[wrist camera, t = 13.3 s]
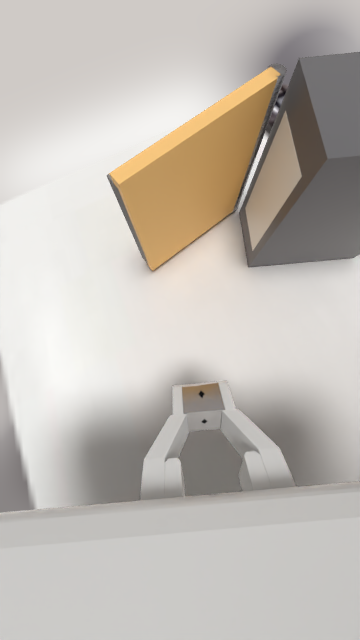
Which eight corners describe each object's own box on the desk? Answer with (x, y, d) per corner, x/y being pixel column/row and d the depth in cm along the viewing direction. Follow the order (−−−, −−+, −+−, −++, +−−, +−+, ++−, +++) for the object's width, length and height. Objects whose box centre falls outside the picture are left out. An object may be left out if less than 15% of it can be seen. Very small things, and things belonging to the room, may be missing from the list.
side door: (153, 271, 17) (120, 185, 8) (143, 260, 18) (102, 165, 9) (239, 207, 18) (290, 71, 10) (229, 197, 19) (270, 55, 10)
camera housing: (353, 257, 18) (597, 118, 7) (248, 267, 18) (338, 143, 7) (334, 191, 19) (516, -6, 9) (237, 200, 19) (300, 16, 9)
